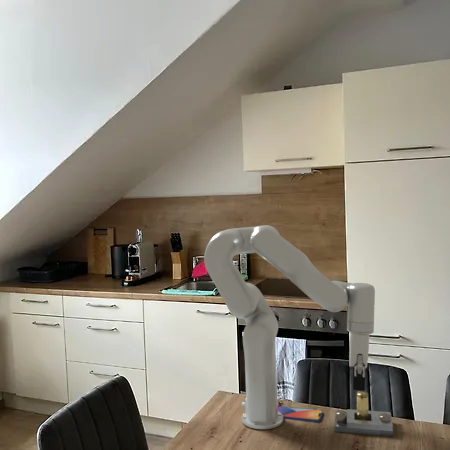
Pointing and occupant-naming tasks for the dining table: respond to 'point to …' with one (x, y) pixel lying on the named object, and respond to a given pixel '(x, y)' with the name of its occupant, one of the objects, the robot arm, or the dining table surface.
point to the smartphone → (301, 414)
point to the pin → (362, 406)
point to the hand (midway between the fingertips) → (358, 383)
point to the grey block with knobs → (364, 423)
